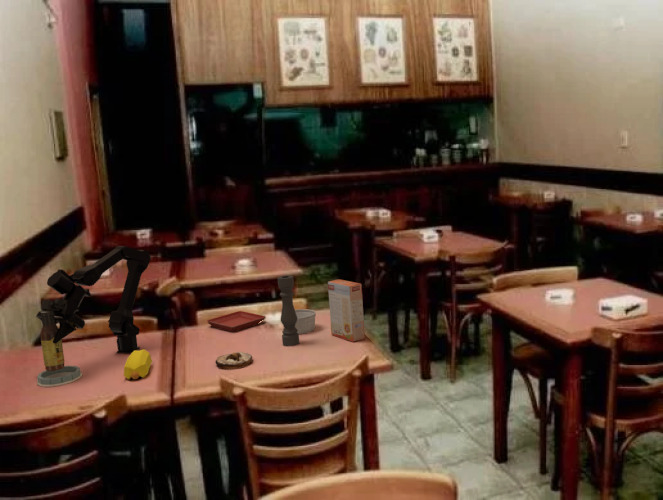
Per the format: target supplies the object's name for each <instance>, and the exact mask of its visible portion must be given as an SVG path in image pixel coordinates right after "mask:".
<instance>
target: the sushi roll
mask: <svg viewBox="0 0 663 500" xmlns="http://www.w3.org/2000/svg"><path fill="white" fill-rule="evenodd" d="M252 363H253V356H252V354H250V353H248V352H244V351H243V352H242V351H239V352H238V351H237V352H233V353H228V354H222V355H220V356H218V357H217V358H216V360H215V364H216V367H217V368H218V370H228V371H229V370H237V369H241V368H244V367H247V366H248V365H251V364H252Z"/></svg>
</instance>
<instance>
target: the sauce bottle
mask: <svg viewBox="0 0 663 500" xmlns="http://www.w3.org/2000/svg"><path fill="white" fill-rule="evenodd" d="M41 311H42V312H41V316H42V320H43V323H42V327H41V329H40V334H39V335H40V339H41V340H40V342H41V349H42V350H41V351H42V356H43V363H44V365H43V366H44V369H45V370H47V371H56V370H59V369H62V368H63V367H64V366H65V353H64V349H63V348H64V347H63V339H61V340H60V341H59V342H57V343H56V344H54V343H53V340H54V337H55V335H56V333H57V331H58V329H59V326H58V325H57V324H56V323H55V318H54V310H46V309H44V310H41Z"/></svg>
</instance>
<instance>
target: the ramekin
mask: <svg viewBox="0 0 663 500" xmlns="http://www.w3.org/2000/svg"><path fill="white" fill-rule="evenodd" d="M295 312H296V315H297V322H296V324H295V325H296V326H295V327H296V329H297V330H298V332H297V333H298V334H299V335H302V334H303V335H304V334H308V333H311V332H313V331H314V329H315V328H316V315H317V314H316V311H315V310H313V309H307V308H306V309H305V308H298V309H295Z"/></svg>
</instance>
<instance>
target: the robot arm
mask: <svg viewBox="0 0 663 500" xmlns="http://www.w3.org/2000/svg"><path fill="white" fill-rule="evenodd" d="M151 257H152V256H151V254H150V253H149V251H148V250H147V249H134V248H131V247H129V246H126V245H125V246H124V245H123V246H122V245H119V246H115V248H114V249H112V250H111V251H110V252H108V253H106V254H105V255H104V256H103V257H100V259H98V260H97V261H95V262H93V263H92V264H89V265H85V266H83V267H81V268H78V269H76V270H75V271H74V272H73V273H72V274H68V273H67V272H66V271H65V270H64V269H57V271H55V272H54V273H52V274H51V275H50V276H49V277H48V278H47V282H46V285H47V286H49V288H51V289H52V290H54V291H55V292H57V293H58V294H60V295H64V296H63V297H62V298H55V299H54V300H49V299H42V302H41V306H40V309H41V310H40V311H38V312H37V314H36V316H35V317H36V318H37V319H39V321H41V323H42V324H43V320H42V316H41V312H42V311H43V310H54V318H55V323H56V325H57V323H59V324H58V325H59V326H58V331H57V333H56V335H55V337H54V340H53V343H54V344H56V343H57V342H59V341H60V340H61V339H62V340H63V339H64V338H65V337H67V336H68V335H70V334H71V333H73V332H75V331H77V330H78V329H79V330H83V329H84V327H85V325H86V320H85V319H83V318H81V317H80V316H79V315H78V314H76V312H79V311H80V310H81V308H80V305H81V303H82V301H83V299H84V297H92V294H91V292H90V289H89V288H84V287H92V286H94V285H95V284H97V282H98V281H99V280H100V279H101V277H102V275H103V274H104V273H105V272H107V271H108V270H109V269H110V268H112V267H113V266H115V265H116V264H118V263H119V262H121V261H122V260H125V261H126V267H127V275H126V279H125V282H124V286H123V289H122V294H121V297H120V301H119V304H118V307H117V309H116V310H115V311H113V310H112V311H111V312H110V315H109V319H108V320H107V323H108V328H109V330H110V331H111V332H112V335H113V336H116V338H117V339H116V345H117V350H116V354H131V353H132V352H133V351H134V350H137V351H139V349H141V346H138V339H137V335H139V334H140V327H138V326H137V325H136V324H135V323H134V320H135V318H134V314H133V308H134V304H135V300H136V298H137V297H136V296H137V292H138V288H139V285H140V281H141V277H142V274H143V273H144V272H145V271H146V270H147V269H148V267H149V265H150V262H151V259H152V258H151ZM40 341H41V338H40Z"/></svg>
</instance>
